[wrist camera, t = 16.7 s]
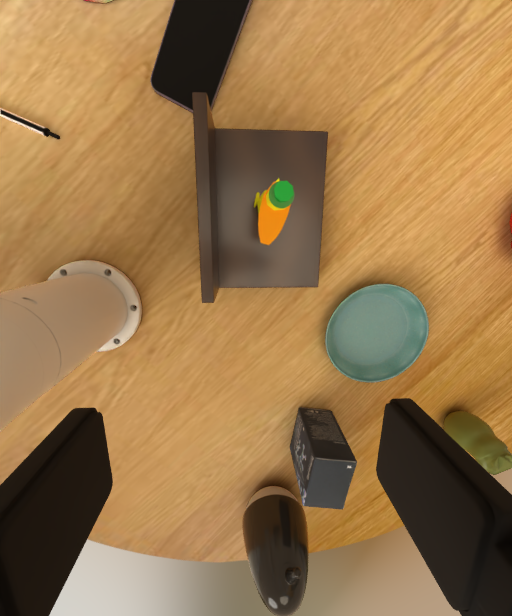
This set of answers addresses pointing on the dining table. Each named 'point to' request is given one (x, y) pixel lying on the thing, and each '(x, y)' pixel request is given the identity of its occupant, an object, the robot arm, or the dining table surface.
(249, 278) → the shelf
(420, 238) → the dining table surface
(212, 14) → the smartphone
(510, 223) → the tomato
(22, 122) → the pen
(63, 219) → the dining table surface
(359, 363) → the saucer
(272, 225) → the toy figure
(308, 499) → the box
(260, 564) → the dark brown egg shape
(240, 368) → the dining table surface
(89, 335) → the robot arm
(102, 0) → the cd
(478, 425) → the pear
